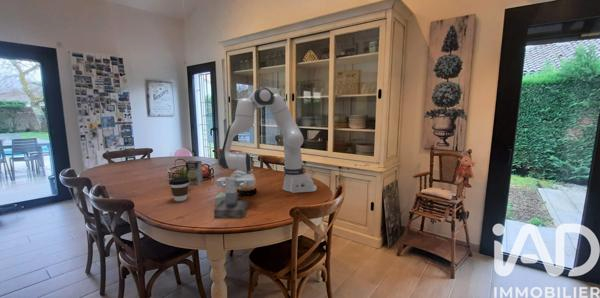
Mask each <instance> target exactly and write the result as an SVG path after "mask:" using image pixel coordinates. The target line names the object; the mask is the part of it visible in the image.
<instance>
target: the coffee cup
mask: <svg viewBox="0 0 600 298" xmlns="http://www.w3.org/2000/svg"><path fill="white" fill-rule="evenodd" d="M188 183H189V179H188V178H187V177H186V178H180V177H179V178H178V177H177V178H176V177H175V178H172V179H170V180H169V183H168V184H169V185H170V188H171V194H172V196H173V200H174V201H175V202H183V201H186V200H187V198H188V192H189V191H188Z"/></svg>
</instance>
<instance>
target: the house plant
mask: <svg viewBox="0 0 600 298" xmlns="http://www.w3.org/2000/svg"><path fill="white" fill-rule="evenodd" d="M173 170H174V171H173V172H175V174H176V175H172V176H173V179H175V178H188V176H189V175H188V173H189V172H190V171H191V170H190V171H189V172H188V173H187V168H186V167H185V166H184V167H183V166H180V169H179V172H178V171H176V169H173ZM186 173H187V174H186ZM187 175H188V176H187ZM190 175H191V174H190ZM188 179H189V178H188ZM189 189H190V185H189V183H188V192H189Z"/></svg>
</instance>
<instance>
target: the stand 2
mask: <svg viewBox="0 0 600 298" xmlns="http://www.w3.org/2000/svg"><path fill="white" fill-rule="evenodd" d="M248 200H249V199H247V200H246V199H245V200H244V199H243V200H241V199H240V200H239V199H237V205H236V206H235V207H226V201H221V202H220V203H219V205H217V206H216V207H215V208H214V210H213V213H214V215H213V216H214V219H239V218H240V219H243V218H244V217H245V215H246V213H247V211H248V209H249V201H248Z"/></svg>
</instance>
